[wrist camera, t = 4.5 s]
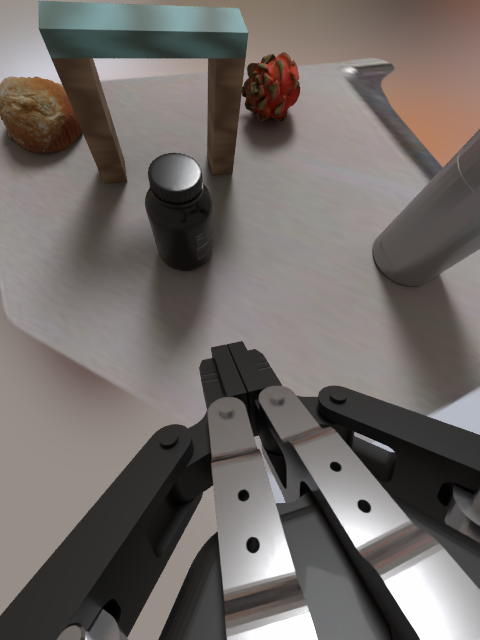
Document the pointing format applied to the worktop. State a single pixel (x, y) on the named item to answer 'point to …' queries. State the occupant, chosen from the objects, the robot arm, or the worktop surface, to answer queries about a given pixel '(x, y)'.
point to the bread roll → (38, 114)
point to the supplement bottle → (180, 211)
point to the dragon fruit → (271, 87)
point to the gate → (146, 42)
